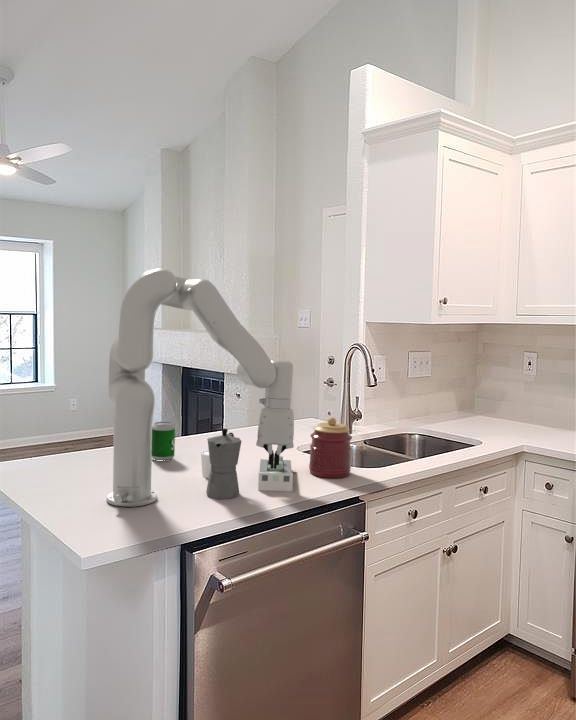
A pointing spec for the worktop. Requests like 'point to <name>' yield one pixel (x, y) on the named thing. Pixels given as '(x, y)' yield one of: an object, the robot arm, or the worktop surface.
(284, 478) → the button board
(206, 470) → the white cup
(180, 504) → the worktop surface
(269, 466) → the button middle
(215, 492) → the coffeepot
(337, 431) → the canister
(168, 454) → the soda can
